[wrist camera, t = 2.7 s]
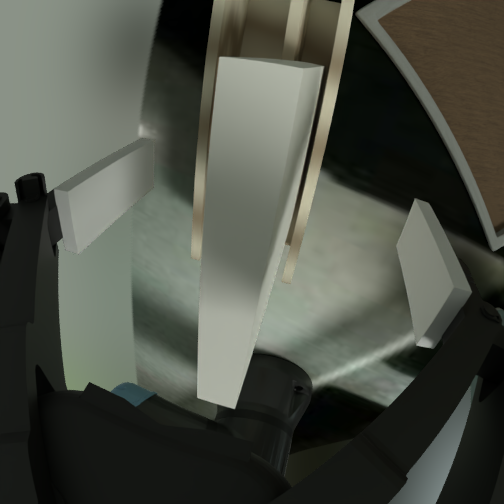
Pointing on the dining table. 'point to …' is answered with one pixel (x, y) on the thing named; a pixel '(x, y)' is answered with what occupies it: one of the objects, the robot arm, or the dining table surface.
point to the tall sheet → (248, 207)
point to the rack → (284, 48)
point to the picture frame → (455, 85)
